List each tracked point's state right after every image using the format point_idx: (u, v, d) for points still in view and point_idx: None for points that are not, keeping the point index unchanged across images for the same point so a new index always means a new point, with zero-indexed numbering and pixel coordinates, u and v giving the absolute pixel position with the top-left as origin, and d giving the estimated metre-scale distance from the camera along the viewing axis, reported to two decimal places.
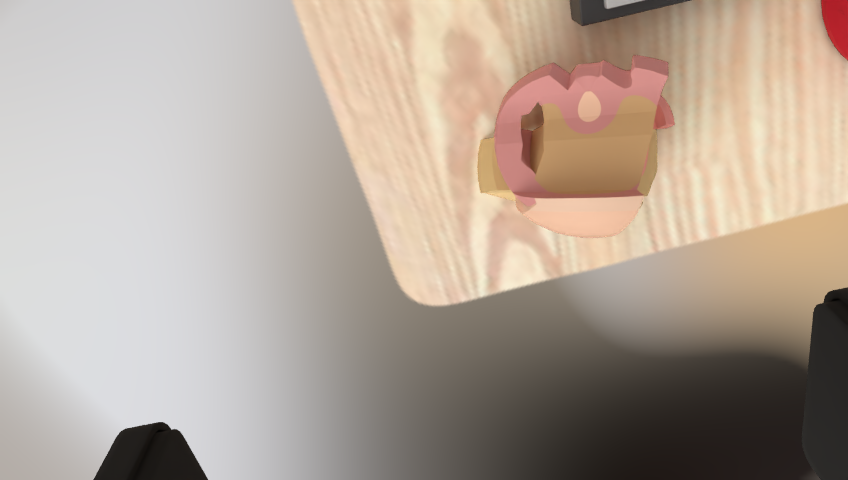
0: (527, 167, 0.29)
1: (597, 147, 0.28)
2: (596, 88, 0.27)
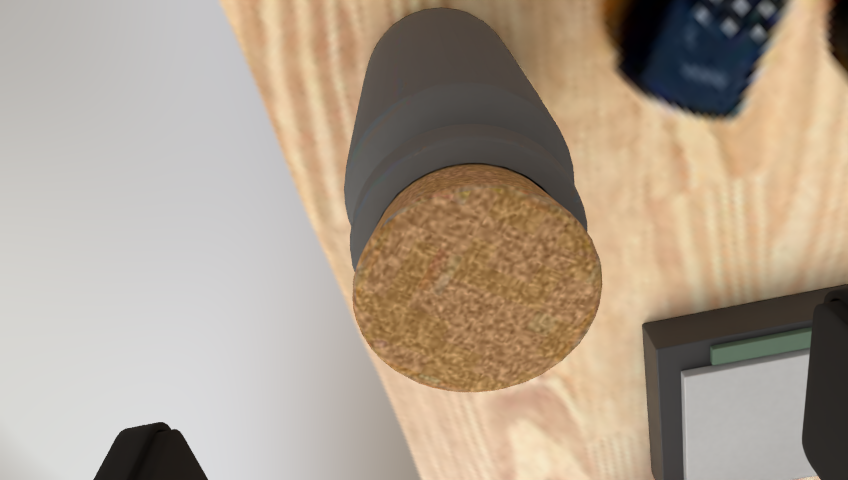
0: None
1: None
2: None
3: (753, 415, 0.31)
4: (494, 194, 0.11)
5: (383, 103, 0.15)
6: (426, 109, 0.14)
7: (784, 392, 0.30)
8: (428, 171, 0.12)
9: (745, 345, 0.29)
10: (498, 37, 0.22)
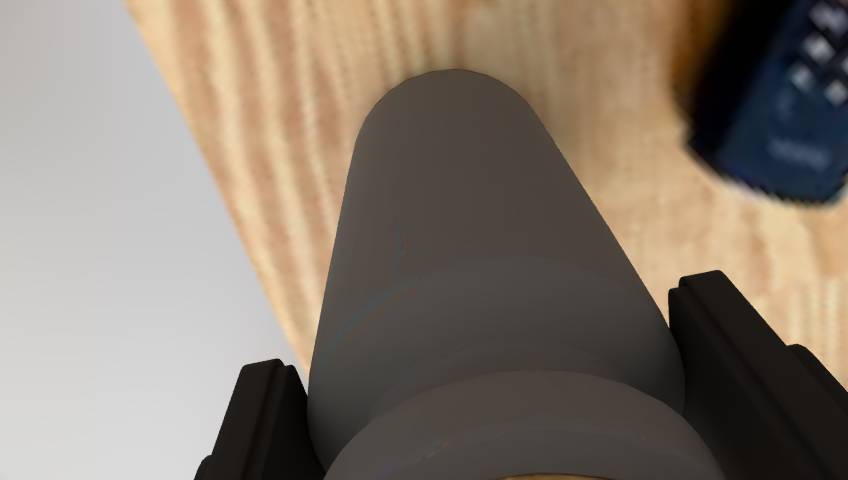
0: None
1: None
2: None
3: None
4: None
5: (370, 278, 0.09)
6: (444, 305, 0.08)
7: None
8: None
9: None
10: (532, 112, 0.16)
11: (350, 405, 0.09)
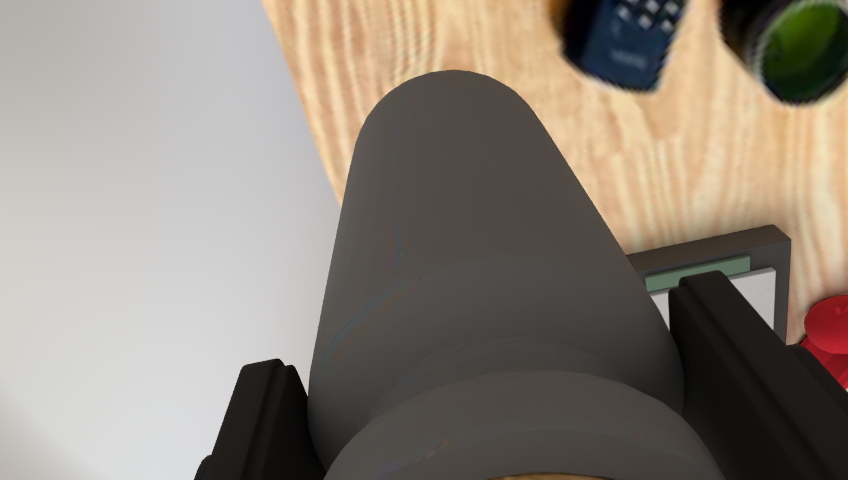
0: None
1: None
2: None
3: None
4: None
5: (370, 278, 0.09)
6: (444, 305, 0.08)
7: None
8: None
9: (672, 274, 0.36)
10: (532, 113, 0.16)
11: (350, 405, 0.09)
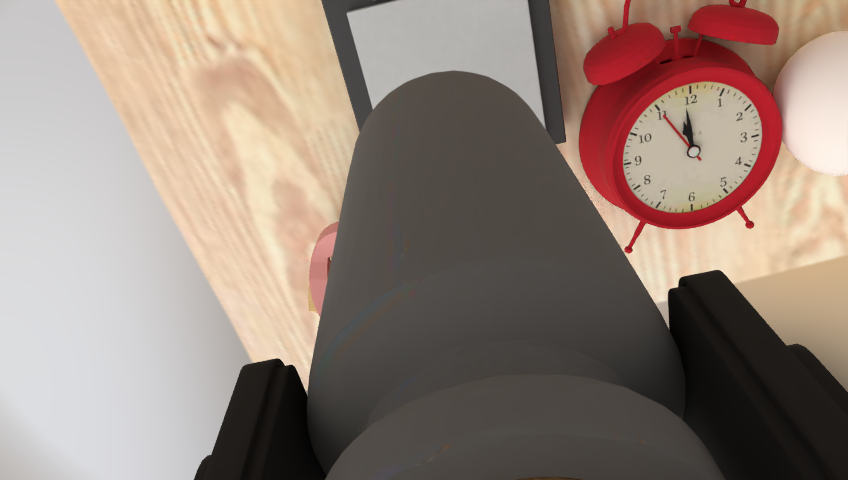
0: None
1: None
2: None
3: (427, 64, 0.32)
4: None
5: (370, 280, 0.09)
6: (444, 307, 0.08)
7: (449, 35, 0.31)
8: None
9: None
10: (533, 113, 0.16)
11: (350, 408, 0.09)
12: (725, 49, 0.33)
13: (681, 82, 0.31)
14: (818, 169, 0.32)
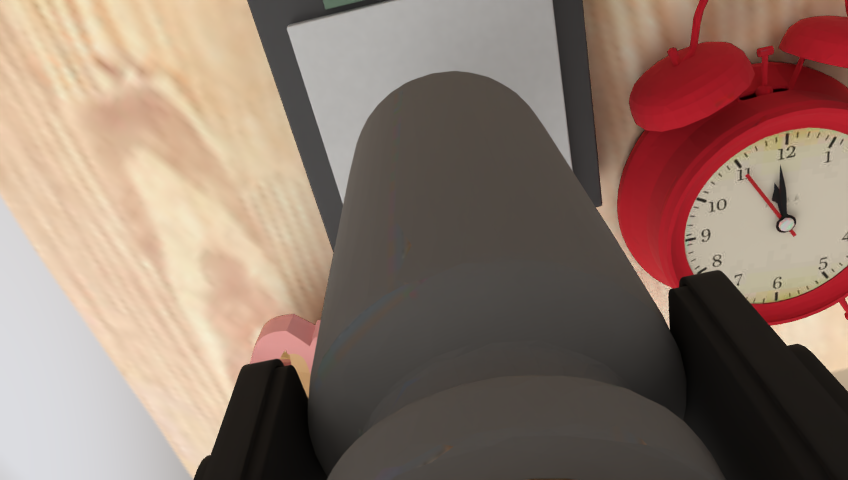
0: None
1: None
2: None
3: None
4: None
5: (371, 281, 0.09)
6: (446, 309, 0.08)
7: (439, 59, 0.21)
8: None
9: None
10: (533, 114, 0.16)
11: (351, 409, 0.09)
12: (829, 78, 0.24)
13: (775, 128, 0.22)
14: None
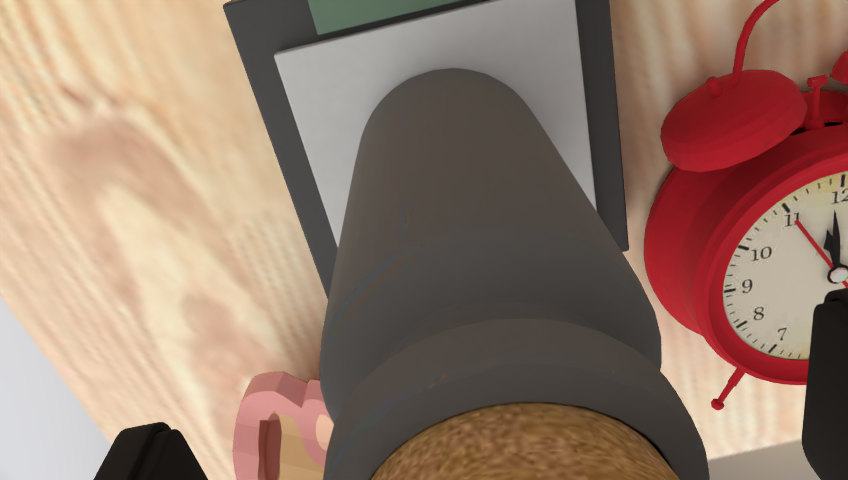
0: None
1: None
2: None
3: None
4: None
5: (377, 248, 0.10)
6: (443, 268, 0.09)
7: None
8: (451, 415, 0.07)
9: None
10: (527, 108, 0.17)
11: (359, 361, 0.10)
12: None
13: (829, 169, 0.19)
14: None
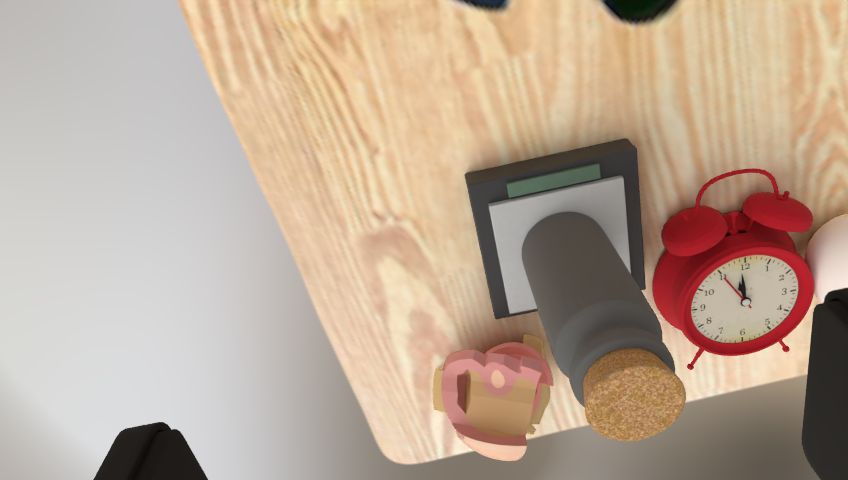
0: (461, 409, 0.46)
1: (502, 405, 0.44)
2: (501, 369, 0.44)
3: None
4: (647, 368, 0.28)
5: (575, 305, 0.32)
6: (600, 313, 0.32)
7: None
8: (612, 351, 0.30)
9: (530, 181, 0.40)
10: (604, 232, 0.40)
11: (572, 339, 0.32)
12: None
13: (738, 255, 0.41)
14: None
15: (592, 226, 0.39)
